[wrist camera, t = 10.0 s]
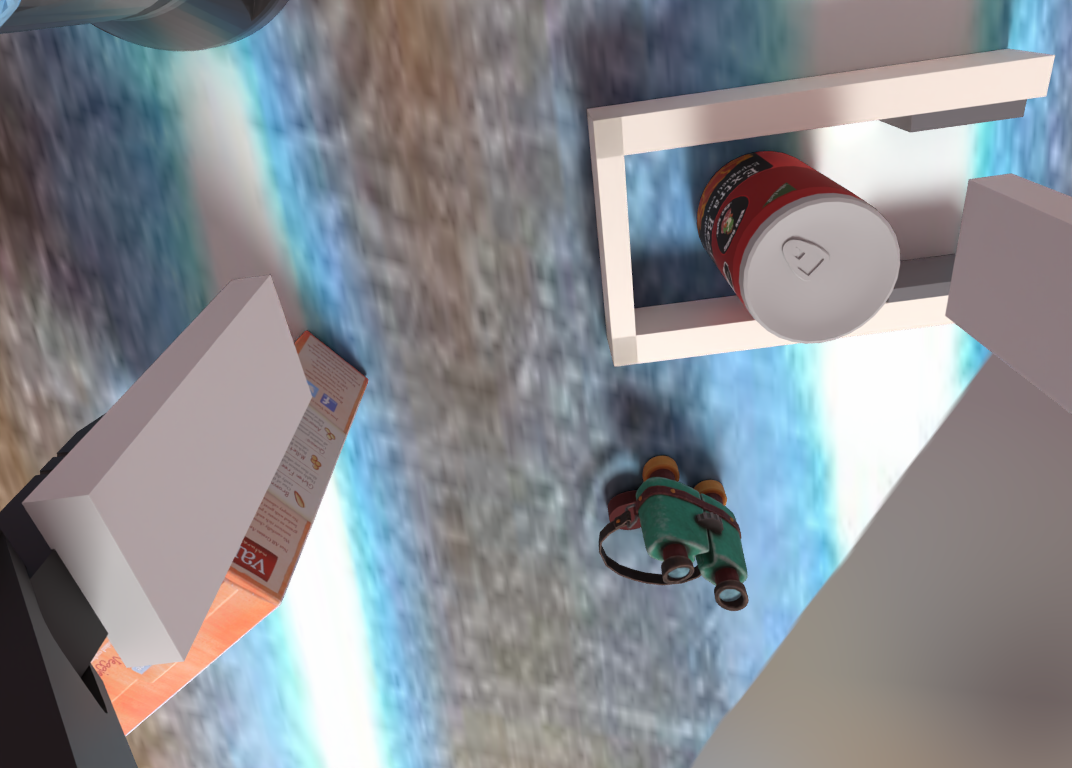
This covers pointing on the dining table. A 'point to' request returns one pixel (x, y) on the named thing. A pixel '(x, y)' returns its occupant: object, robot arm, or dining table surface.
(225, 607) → the cracker box
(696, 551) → the binoculars
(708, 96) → the white rectangular tray
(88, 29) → the dining table surface
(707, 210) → the canned food
